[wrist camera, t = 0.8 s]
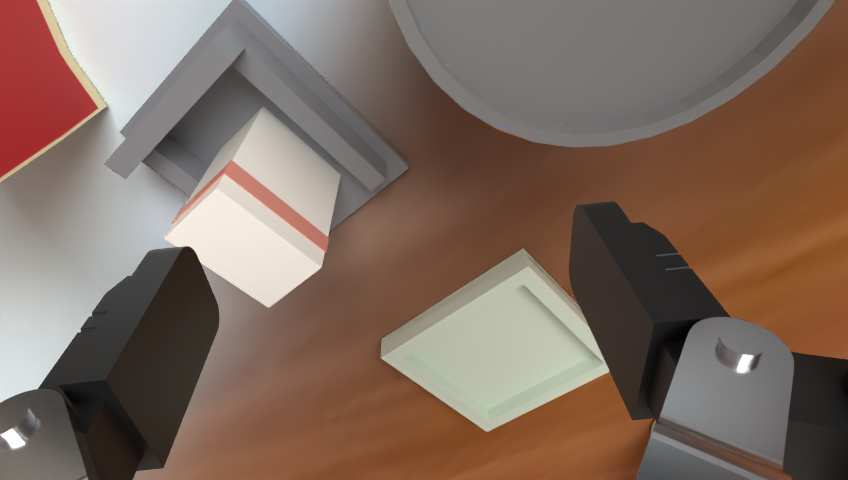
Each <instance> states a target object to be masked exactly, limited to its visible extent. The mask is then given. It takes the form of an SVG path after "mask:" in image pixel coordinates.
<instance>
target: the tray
mask: <svg viewBox="0 0 848 480" xmlns="http://www.w3.org/2000/svg"><path fill="white" fill-rule="evenodd" d="M381 359H383V360H384V361H386V362H387V363H388V364H390V365H391V366H393V367H394V368H396V369H397V370H398V371H400V372H401V373H403V374H404V375H406V376H407V377H409V378H410V379H411V380H413V381H414V382H416V383H417V384H419V385H420V386H422V387H423V388H424V389H426V390H427V391H429V392H430V393H432V394H433V395H434V396H436V397H437V398H439V399H440V400H442V401H443V402H445V403H446V404H447V405H449V406H450V407H452V408H453V409H455V410H456V411H457V412H459V413H460V414H462V415H463V416H465V417H466V418H468V419H469V420H470V421H472V422H473V423H475V424H476V425H478V426H479V427H480V428H482V429H483V430H485V431H486V432H488V431H490V430H492V429H494V428H496V427H498V426H500V425H502V424H504V423H506V422H508V421H510V420H512V419H514V418H516V417H518V416H520V415H522V414H524V413H526V412H529V411H531V410H533V409H535V408H537V407H539V406H541V405H543V404H545V403H547V402H549V401H551V400H553V399H555V398H557V397H559V396H561V395H563V394H565V393H567V392H569V391H571V390H573V389H575V388H577V387H579V386H581V385H583V384H585V383H587V382H589V381H591V380H593V379H595V378H597V377H600V376H602V375H604V374H606V373H608V372H610V371H609V369H608V367H607V364H606V362H605V360H604V358H603V356H602V354H601V352H600V349H599V347H598V345H597V343H596V341H595V339H594V336H593V334H592V332H591V330H590V328H589V326H588V324H587V321H586V319H585V317H584V315H583V313H582V311H581V308H580V306H579V305H578V304H577V303H576V302H575V301H574V300H573V299H572V298H571V297H570V296H569V295H568V294H567V293H566V292H565V291H564V290H563V289H562V288H561V287H560V286H559V285H558V284H557V283H556V282H555V281H554V279H553V278H552V277H551V276H550V275H549V274H548V273H547V272H546V271H545V270H544V269H543V268H542V267H541V266H540V265H539V264H538V263H537V262H536V261H535V260H534V259H533V258H532V257H531V256H530V255H529V254H528V253H527V252H526V250H525V249H524V248H522V249H521V250H519V251H518V252H516V253H515V254H513V255H512V256H510V257H508V258H507V259H505V260H504V261H502V262H501V263H499V264H498V265H496V266H494V267H493V268H491V269H490V270H488V271H487V272H485V273H484V274H482V275H480V276H479V277H477V278H476V279H474V280H473V281H471V282H469V283H468V284H466V285H465V286H463V287H462V288H460V289H459V290H457V291H455V292H454V293H452V294H451V295H449V296H448V297H446V298H445V299H443V300H441V301H440V302H438V303H437V304H435V305H434V306H432V307H431V308H429V309H427V310H426V311H424V312H423V313H421V314H420V315H418V316H416V317H415V318H413V319H412V320H410V321H409V322H407V323H406V324H404V325H402V326H401V327H399V328H398V329H396V330H395V331H393V332H392V333H390V334H388V335H387V336H385V337H384V338H382V341H381Z"/></svg>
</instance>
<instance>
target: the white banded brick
mask: <svg viewBox="0 0 848 480" xmlns="http://www.w3.org/2000/svg"><path fill="white" fill-rule="evenodd" d="M340 176H341V174H340V173H338V172H337V171H336V170H335V169H334V168H333V167H332V166H331V165H329V164H328V163H327V162H326V161H325V160H324V159H323V158H322V157H320V156H319V155H318V154H317V153H316V152H315V151H314V150H313V149H311V148H310V147H309V146H308V145H307V144H306V143H305V142H304V141H302V140H301V139H300V138H299V137H298V136H297V135H296V134H295V133H294V132H292V131H291V130H290V129H289V128H288V127H287V126H286V125H285V124H283V123H282V122H281V121H280V120H279V119H278V118H277V117H276V116H274V115H273V114H272V113H271V112H270V111H269V110H268V109H267V108H265V107H264V106H263V107H262V108H261V109H260V110H259V111H258V112H257V113H256V114H255V115H254V116H253V117H252V118H251V119H250V120H249V121H248V122H247V123H246V124H245V125H244V126H243V127H242V128H241V129H240V130H239V131H238V132H237V133H236V134H235V135H234V136H233V137H232V138H231V139H230V140H229V141H228V142H227V143H226V144H225V145H224V146H223V147H222V148H221V149H220V151H219V152H218V154H217V155H216V157H215V158H214V160H213V162H212V163H211V165H210V166H209V168H208V169H207V171H206V173H205V174H204V176H203V177H202V179H201V181H200V182H199V184H198V185H197V187H196V188H195V190H194V192H193V193H192V195H191V196H190V198H189V199H188V201H187V203H186V204H185V206H184V207H183V208H182V209H181V210H180V211H179V213H178V214H177V216H176V217H175V219H174V221H173V222H172V224H173V225H172V226H171V228H170V229H169V231H168V233H167V234H166V236H165V237H164V239H165V240H167V241H168V242H170V243H172V244H173V245H175V246H176V247H184V246H189V247H191V248H193V250H194V251H195V252H196V254H197V256H198V258H199V261H200V263H202V264H203V265H205V266H206V267H208V268H209V269H211V270H212V271H214V272H215V273H217V274H218V275H220V276H221V277H223V278H224V279H226V280H227V281H229V282H230V283H232V284H233V285H235V286H236V287H238V288H239V289H241V290H242V291H244V292H245V293H247V294H248V295H250V296H251V297H253V298H254V299H256V300H257V301H259V302H260V303H262V304H263V305H265V306H266V307H268V308H269V307H271V306H272V305H273V304H275V303H276V302H277V301H278V300H280V299H281V298H282V297H284V296H285V295H286V294H288V293H289V292H290V291H292V290H293V289H294V288H296V287H297V286H298V285H299V284H301V283H302V282H303V281H305V280H306V279H307V278H309V277H310V276H311V275H313V274H314V273H315V272H317V271H318V270H319V269H321V268H322V264H323V259H324V254H325V253H326V251H327V246H328V241H329V237H328V234H329V230H330V225H331V220H332V215H333V210H334V205H335V200H336V195H337V191H338V186H339V181H340Z"/></svg>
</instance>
